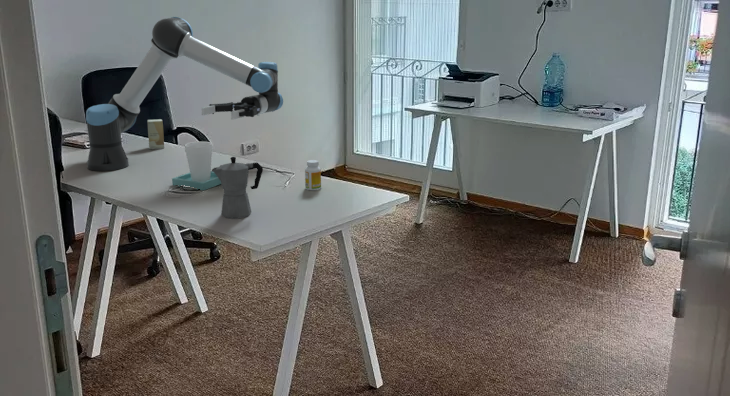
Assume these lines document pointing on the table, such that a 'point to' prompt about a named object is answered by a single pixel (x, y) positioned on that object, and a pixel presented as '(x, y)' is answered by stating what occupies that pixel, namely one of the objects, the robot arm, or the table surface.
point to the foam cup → (199, 160)
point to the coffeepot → (236, 187)
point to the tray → (188, 181)
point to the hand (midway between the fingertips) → (216, 113)
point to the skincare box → (155, 134)
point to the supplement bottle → (313, 175)
